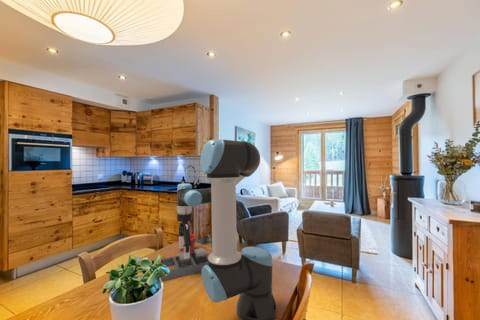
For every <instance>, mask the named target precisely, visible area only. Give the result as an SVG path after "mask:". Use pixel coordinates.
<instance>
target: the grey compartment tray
mask: <svg viewBox="0 0 480 320" xmlns="http://www.w3.org/2000/svg"><path fill="white" fill-rule="evenodd" d="M208 256H209V254H208V253H207V252H206V262H203V263H198V264H196V263H195V261H194V252H193V253H190V265H189V266H184V267H180V268H179V265H178V255H176V256H170V257H164V258H160V259H161V263H162V264H164V265H166V266H167V267H171V266H172V269H169V270H170V273H169V274H168V275H167V276H165V277H163V278H161V280H162V281H161V282H164V281H165V282H166V281H169V280H173V279H178V278H182V277H186V276H189V275H195V274H199V273H202V268H203V266H205V265H208Z"/></svg>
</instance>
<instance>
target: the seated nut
mask: <svg viewBox="0 0 480 320" xmlns="http://www.w3.org/2000/svg"><path fill="white" fill-rule="evenodd" d="M193 253H194V261H195V263H196V264H198V263H203V262H206V253H207V252H206V250H205V249H204V247H202V248H201V247H200V248H196V249H195V248H194V251H193Z"/></svg>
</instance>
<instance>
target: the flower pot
mask: <svg viewBox="0 0 480 320" xmlns="http://www.w3.org/2000/svg"><path fill="white" fill-rule="evenodd" d="M179 237H180V236H179V235H178V238H177V239H178V242H179ZM196 238H197V237H196V235H195V234H192V233H190V239H191V246H190V253H194V250H195V245H196ZM184 245H185V243H184ZM179 252H184V248H181V249H179Z"/></svg>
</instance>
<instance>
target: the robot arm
mask: <svg viewBox="0 0 480 320" xmlns="http://www.w3.org/2000/svg"><path fill="white" fill-rule="evenodd" d="M258 149H259V148H257V147H256V146H255V145H254V144H253V143H251V142H249V141H245V140H244V141H243V140H240V141H239V140H231V139H211V140H208V141H207V142H206V143H205V144H204V145H203V148H202V150H201V154H200V160H199V162H200V170H201V171H202V173H203V174H206V179H207V180H208V181H209V182H210V185H211V186H210V188H209V187H208V188H201V189H200V188H199V189H193V185H192V184H191V183H178V184H177V188H176V189H177V190H176V198H177V199H176V213H177V214H176V220H177V222H179V226H178V237H179V236H180V237H179V241H178V248H179V250H180V249H181V248H184V259H187V258H190V246H191V239H190V234H191V232H190V231H191V228H190V226H191V224H189V222H190V221H192V219H193V216H192V215H193V214H192V211H193V210H192V209H193V208H194V207H197V206H199V205H205V204H211V252H210V254H208V265H205V266H203V268H202V272H201V281H202V284H203V288H204V290H205V293H206V295H207V296H208V297H207V298H208V299H209V300H211V301H212V302H213V303H215V304H216V303H217V304H218V303H220V302H222V301H227V300H229V299H231V298H233V297H236V296H238V300H237V302H236V314H238V315H237V316H239V317H240V318H241V319H242V320H273V319H274V318H275V316H276V317H277V314H276V313H277V311H278V310H277V308H278V307H277V303H276V301H275V297H274V293H273V265H274V264H273V258H272V257H273V256H272V254H271V253H270V252H269V251H268V250H267V249H264V248H262V247H259V246H258V247H257V246H245V247H243V248H242V249H241V251H240V252H239V251H238V246H237V245H238V241H237V238H238V237H237V236H238V235H237V233H238V232H237V191H236V190H237V188H236V186H237V185H238V184H239V183H240V182H241V181H243V180H244V179H245V178H248V177H250V176H252V175H253V174H254V173H255V172H256V171H257V170H258V169H259V166H260V164H261V154H260V151H259V150H258ZM184 243H185V245H184ZM239 317H238V318H239ZM240 318H239V319H240ZM241 319H240V320H241ZM275 319H276V318H275ZM275 319H274V320H275Z"/></svg>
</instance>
